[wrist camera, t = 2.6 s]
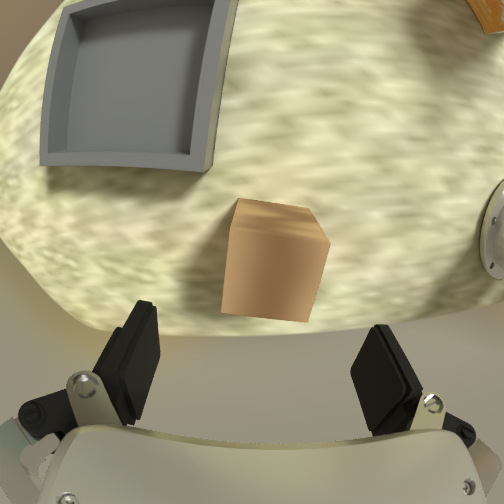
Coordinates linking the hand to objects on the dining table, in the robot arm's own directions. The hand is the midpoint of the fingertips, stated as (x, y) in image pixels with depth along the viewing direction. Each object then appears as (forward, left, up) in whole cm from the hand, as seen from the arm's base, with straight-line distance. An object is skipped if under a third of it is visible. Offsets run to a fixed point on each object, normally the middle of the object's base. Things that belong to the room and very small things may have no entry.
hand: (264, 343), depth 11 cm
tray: (+11, -12, -12) cm, 21 cm away
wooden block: (-1, 0, -12) cm, 12 cm away
